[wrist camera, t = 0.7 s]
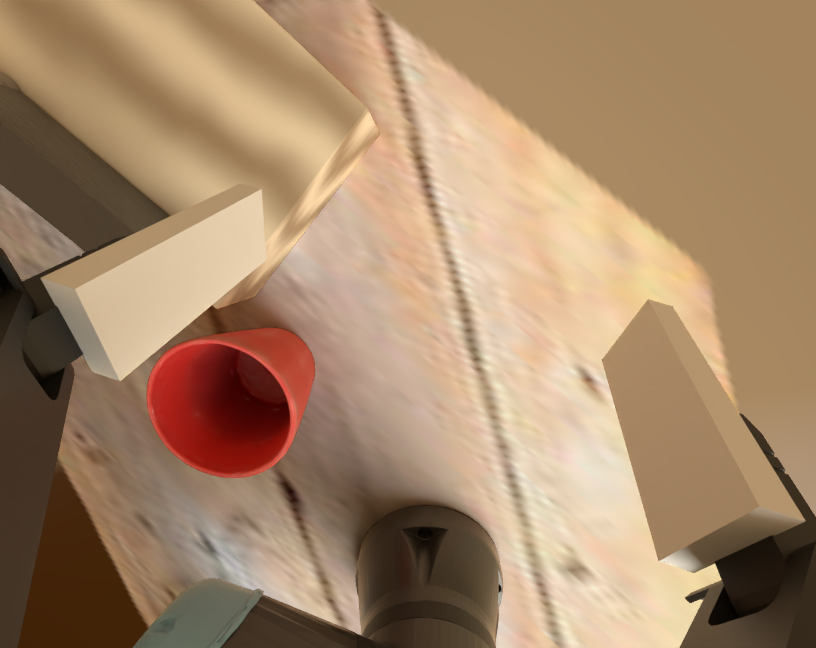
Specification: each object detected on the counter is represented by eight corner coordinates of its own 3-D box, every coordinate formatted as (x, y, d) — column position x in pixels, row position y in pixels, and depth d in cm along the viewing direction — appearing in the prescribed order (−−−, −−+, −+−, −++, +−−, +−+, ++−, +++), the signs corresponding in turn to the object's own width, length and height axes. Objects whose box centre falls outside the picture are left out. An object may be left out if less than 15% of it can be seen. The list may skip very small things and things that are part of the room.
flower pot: (277, 286, 33) (214, 305, 23) (354, 376, 34) (325, 428, 25) (200, 353, 35) (113, 396, 25) (276, 435, 36) (221, 504, 27)
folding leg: (-34, 104, 25) (-149, 71, 20) (-13, 57, 24) (-127, 11, 19) (183, 281, 27) (127, 291, 22) (209, 244, 26) (157, 245, 21)
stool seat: (254, 296, 33) (216, 309, 27) (41, 118, 31) (-51, 90, 25) (380, 133, 29) (366, 107, 23) (146, -86, 27) (66, -176, 21)
